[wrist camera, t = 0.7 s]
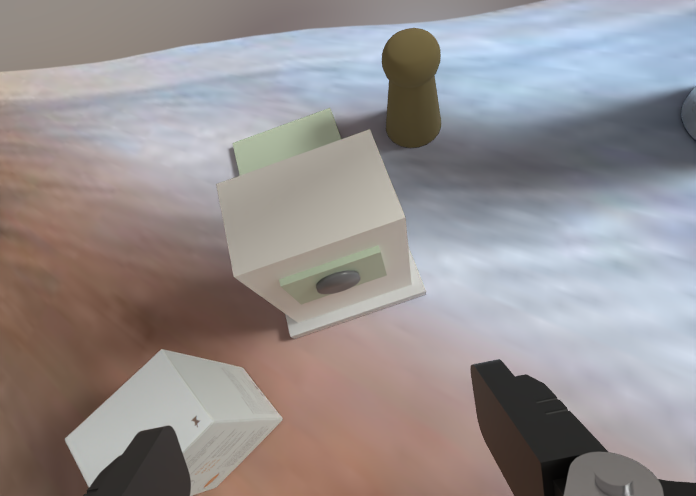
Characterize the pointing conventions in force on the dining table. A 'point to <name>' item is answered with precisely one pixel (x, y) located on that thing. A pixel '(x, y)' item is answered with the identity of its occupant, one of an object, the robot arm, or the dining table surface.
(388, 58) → the cork
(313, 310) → the housing
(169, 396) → the small box
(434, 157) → the dining table surface
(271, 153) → the plate
